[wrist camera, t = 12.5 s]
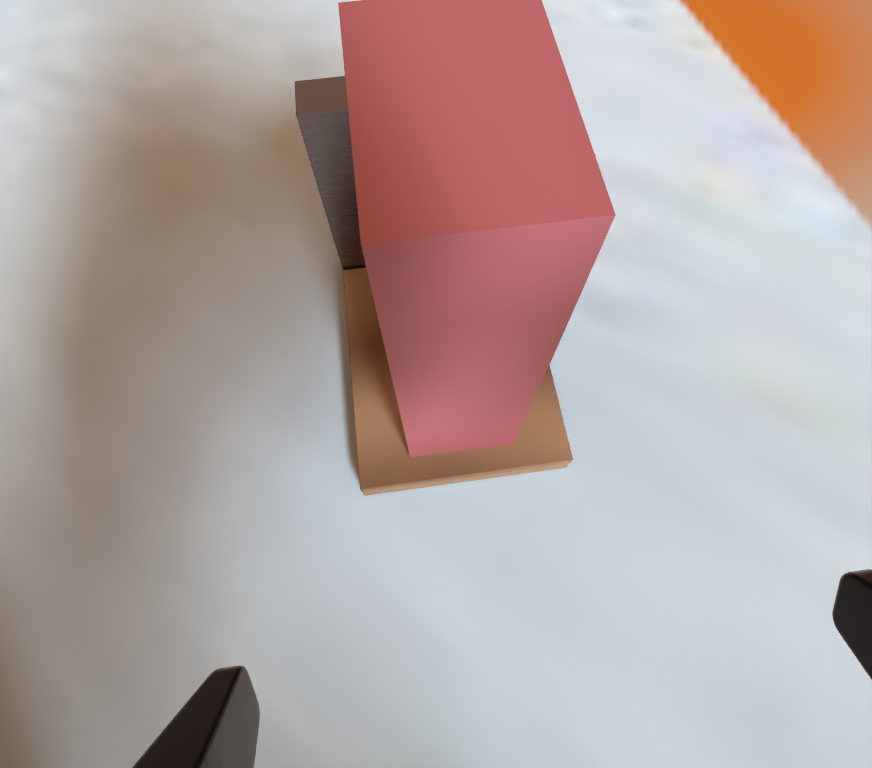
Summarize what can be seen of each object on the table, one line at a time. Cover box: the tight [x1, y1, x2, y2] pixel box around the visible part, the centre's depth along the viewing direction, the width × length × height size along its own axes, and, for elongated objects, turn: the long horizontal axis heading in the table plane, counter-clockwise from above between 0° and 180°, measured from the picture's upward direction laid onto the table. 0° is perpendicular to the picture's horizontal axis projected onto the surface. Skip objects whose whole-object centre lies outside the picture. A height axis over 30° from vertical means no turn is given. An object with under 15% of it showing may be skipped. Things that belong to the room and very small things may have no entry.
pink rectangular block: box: [338, 0, 615, 457], centre depth 15 cm, size 6×4×12 cm, turn 7°
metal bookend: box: [295, 76, 366, 270], centre depth 20 cm, size 2×8×9 cm, turn 97°
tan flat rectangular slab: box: [343, 268, 573, 495], centre depth 22 cm, size 10×8×1 cm
